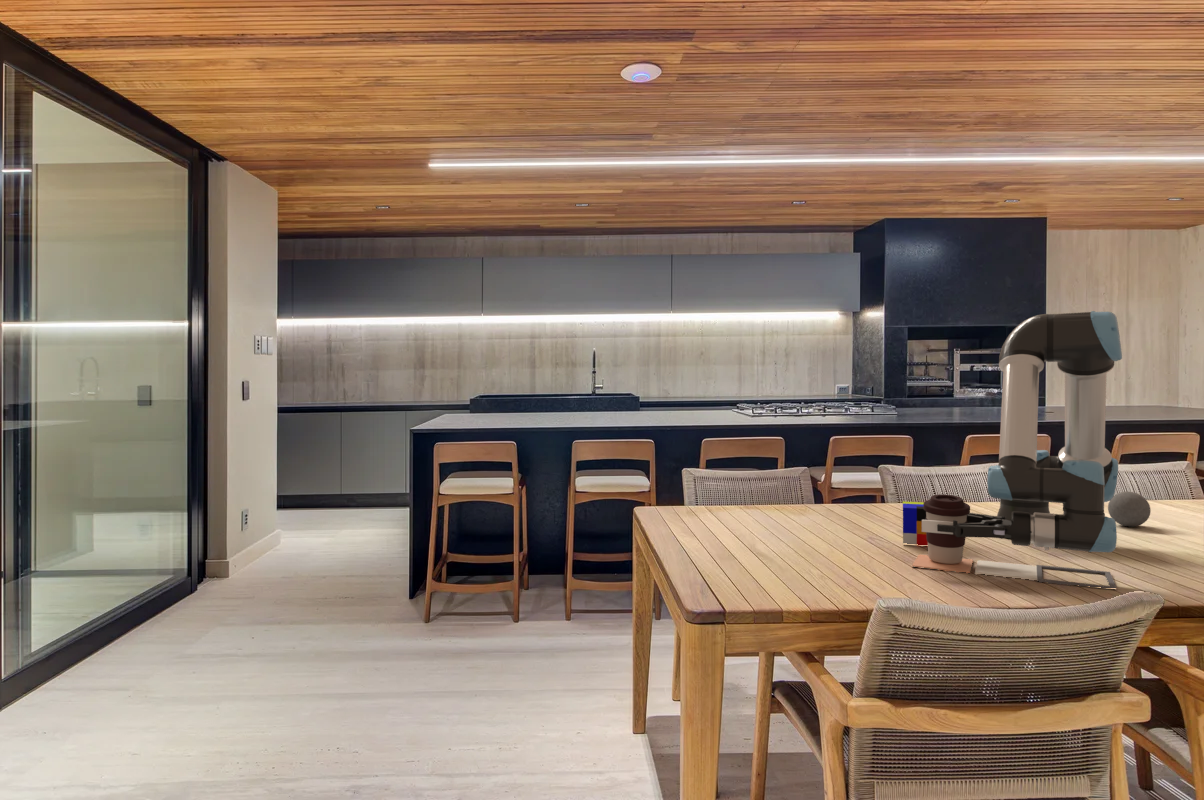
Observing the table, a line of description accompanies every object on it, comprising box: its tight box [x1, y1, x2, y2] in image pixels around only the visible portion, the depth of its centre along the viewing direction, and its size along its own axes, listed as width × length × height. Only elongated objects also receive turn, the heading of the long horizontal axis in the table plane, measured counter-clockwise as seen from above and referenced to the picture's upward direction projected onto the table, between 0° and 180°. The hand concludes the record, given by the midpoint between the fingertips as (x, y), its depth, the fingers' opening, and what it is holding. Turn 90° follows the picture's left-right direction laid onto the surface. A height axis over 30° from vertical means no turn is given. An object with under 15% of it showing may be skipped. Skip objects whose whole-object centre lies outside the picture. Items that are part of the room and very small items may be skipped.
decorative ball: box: [1107, 491, 1152, 528], centre depth 212 cm, size 10×10×10 cm
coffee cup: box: [923, 493, 971, 564], centre depth 174 cm, size 10×10×15 cm
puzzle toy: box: [902, 501, 928, 545], centre depth 196 cm, size 10×10×10 cm
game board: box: [912, 554, 1118, 589], centre depth 167 cm, size 39×14×1 cm, turn 60°
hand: (924, 521), depth 175 cm, fingers open, 11 cm apart
